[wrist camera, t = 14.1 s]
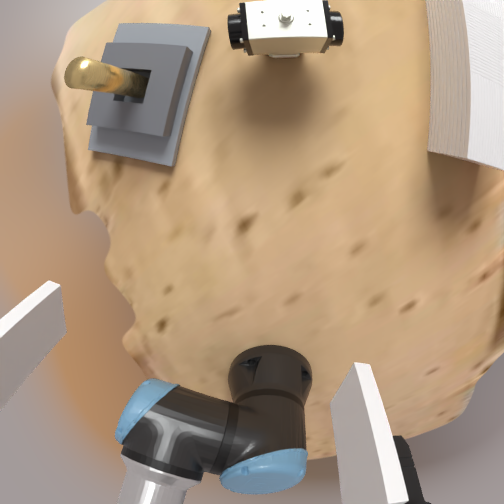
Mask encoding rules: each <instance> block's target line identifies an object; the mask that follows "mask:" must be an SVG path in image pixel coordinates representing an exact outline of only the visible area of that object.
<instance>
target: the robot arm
mask: <svg viewBox="0 0 504 504" xmlns="http://www.w3.org/2000/svg"><path fill="white" fill-rule="evenodd" d="M66 333H67V331H66V325H65V318H64V310H63V302H62V293H61V285H59V284H56V283H54V282H52V281H47V282H46V283H45V284H43V285H42V286H41V287H40V288H38V289H37V290H36V291H34V292H33V293H32V294H31V295H29V296H28V297H27V298H26V299H24V300H23V301H22V302H21V303H20V304H18V305H17V306H16V307H15V308H13V309H12V310H11V311H10V312H9V313H8V314H6V315H5V316H4V317H3V318H2V319H0V411H1V410H2V409H3V408H4V406H5V405H6V404H7V402H8V401H9V400H10V399H11V397H12V396H13V395H14V393H15V392H16V391H17V390H18V389H19V387H20V386H21V385H22V384H23V382H24V381H25V380H26V379H27V377H28V376H29V375H30V374H31V373H32V371H33V370H34V369H35V368H36V367H37V366H38V364H39V363H40V362H41V361H42V360H43V359H44V357H45V356H46V355H47V354H48V353H49V352H50V351H51V350H52V348H53V347H54V346H55V345H56V344H57V343H58V341H60V339H61V338H62V337H63V336H64V335H65V334H66ZM228 383H229V387H230V391H231V395H232V399H233V403H231V402H228V401H224V400H221V399H217V398H214V397H211V396H208V395H205V394H201V393H198V392H195V391H192V390H189V389H186V388H184V387H181V386H180V385H179V384H172V383H169V382H165V381H162V380H159V379H154V378H153V379H148V380H146V381H145V382H143V383H142V384H141V385H140V386H139V387H138V389H137V390H136V391H135V392H134V394H133V395H132V397H131V398H130V400H129V402H128V403H127V405H126V407H125V409H124V411H123V413H122V415H121V417H120V419H119V422H118V427H117V429H116V432H115V439H116V440H117V441H118V442H119V443H120V444H122V445H124V446H123V449H122V452H121V455H120V456H121V458H122V459H123V461H124V463H125V465H126V467H127V472H126V476H125V479H124V482H123V485H122V488H121V492H120V495H119V498H118V501H117V504H183V502H184V499H185V495H186V492H187V490H188V489H189V488H191V487H193V486H195V485H197V484H199V483H201V480H202V476H203V473H204V472H209V473H212V474H217V475H220V478H219V479H220V481H221V484H222V486H223V487H224V488H226V489H230V490H231V491H233V492H237V493H242V494H267V493H273V492H278V491H282V490H285V489H288V488H290V487H292V486H294V485H296V484H297V483H299V482H300V481H301V480H302V478H303V477H304V475H305V472H306V460H307V456H308V452H307V451H306V431H305V414H304V405H305V403H306V400H307V397H308V395H309V392H310V389H311V386H312V371H311V367H310V364H309V362H308V361H307V360H306V359H305V357H303V356H302V355H301V354H300V353H298V352H296V351H294V350H292V349H290V348H287V347H282V346H276V345H264V346H258V347H254V348H251V349H248V350H246V351H244V352H242V353H241V354H239V355H238V356H237V357H236V358H235V359H234V361H233V362H232V364H231V367H230V371H229V376H228ZM330 409H331V416H332V423H333V430H334V437H335V445H336V453H337V461H338V469H339V478H340V487H341V497H342V504H431V503H429V502H425V500H424V498H423V494H422V490H421V487H420V483H419V479H418V476H417V472H416V469H415V467H414V462H413V459H412V455H411V451H410V449H409V445H408V444H407V443H406V441H405V440H404V438H403V437H402V436H392V433H391V430H390V426H389V423H388V420H387V416H386V413H385V410H384V407H383V403H382V400H381V397H380V394H379V391H378V388H377V385H376V382H375V379H374V376H373V373H372V370H371V367H370V364H364V363H356V362H354V363H353V365H352V367H351V369H350V370H349V372H348V374H347V376H346V377H345V379H344V381H343V382H342V384H341V386H340V387H339V389H338V391H337V392H336V394H335V396H334V397H333V399H332V400H331V402H330Z"/></svg>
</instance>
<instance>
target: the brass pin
mask: <svg viewBox="0 0 504 504" xmlns="http://www.w3.org/2000/svg"><path fill="white" fill-rule="evenodd" d="M64 79H65V83H66V85H67V86H68V87H70V88H74V89H83V90H91V91H98V92H105V93H111V94H117V95H123V96H129V97H134V98H144V97H145V93H146V89H147V86H148V82H149V78H147V77H145V76H142V75H139V74H136V73H134V72H131V71H128V70H125V69H122V68H119V67H115V66H112V65H109V64H106V63H103V62H99V61H96V60H92V59H89V58H85V57H77V58H75V59H74V60H72V61H71V62H70V64H69V65H68V66H67V68H66V71H65V76H64Z"/></svg>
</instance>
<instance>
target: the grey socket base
mask: <svg viewBox="0 0 504 504" xmlns="http://www.w3.org/2000/svg"><path fill="white" fill-rule="evenodd" d="M210 32H211V30H210V29H209V27H201V26H191V25H178V24H157V23H123V24H119V26H118V29H117V32H116V34H115V37H114V41H113V43H106V46H105V49H104V53H103V56H102V60H101V62H103V63H106V64H109V65H112V66H115V67H119V68H122V69H125V70H128V71H131V72H134V73H136V74H139V75H142V76H145V77H147V78H149V82H148V86H147V89H146V93H145V97H144V98H134V97H129V96H123V95H117V94H111V93H105V92H98V91H93V95H92V99H91V104H90V108H89V113H88V119H87V124H86V125H92V130H91V135H90V141H89V148H88V150H92V151H98V152H103V153H109V154H114V155H119V156H124V157H129V158H134V159H139V160H144V161H149V162H154V163H158V164H163V165H167V166H174V165H175V163H176V158H177V153H178V149H179V144H180V140H181V136H182V131H183V127H184V123H185V119H186V115H187V111H188V107H189V103H190V100H191V96H192V92H193V88H194V85H195V81H196V78H197V74H198V71H199V67H200V64H201V61H202V57H203V54H204V51H205V48H206V45H207V42H208V39H209V35H210Z"/></svg>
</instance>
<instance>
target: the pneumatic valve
mask: <svg viewBox="0 0 504 504" xmlns="http://www.w3.org/2000/svg"><path fill="white" fill-rule="evenodd" d="M239 5H240V8H237V11H238V13H239V14H230V15H228V33H229V39H230V43H231V47H232V49H233V50H235V49H244V52H245V53H246V52H247V53H248V56H251V55H263V54H269V56H270V57H273V58H294V57H297V56H300V53H325V51H326V50H329V46H341V45H342V42H343V37H344V28H343V20H342V16H341V14H340V12H338V11H329V10H330V5H328V0H271V1H256V2H245V3H239Z"/></svg>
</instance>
